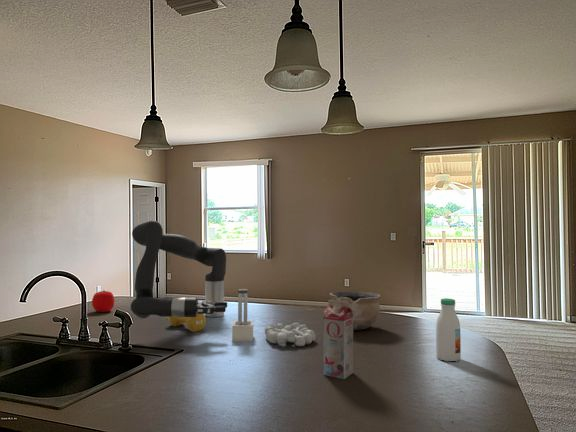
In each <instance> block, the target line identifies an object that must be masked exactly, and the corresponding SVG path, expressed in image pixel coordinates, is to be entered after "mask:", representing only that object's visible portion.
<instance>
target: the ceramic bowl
mask: <svg viewBox="0 0 576 432" xmlns="http://www.w3.org/2000/svg"><path fill="white" fill-rule="evenodd" d="M329 297H330V298H331V299H330V300H335V301H344V302H349V308H350V309H351V310H352V311H353V331H361V330H365V329H366V330H367V329H368V328H370V327H371V326H373V324H374V323H375V322H376V320H377V319H378V317H379V315H380V312H381V307H380V299H381V295H380V294H378V293H375V292H366V291H356V290H355V291H353V290H351V291H344V290H343V291H334V292H330V293H329Z"/></svg>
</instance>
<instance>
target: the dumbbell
mask: <svg viewBox="0 0 576 432" xmlns="http://www.w3.org/2000/svg"><path fill="white" fill-rule="evenodd" d="M166 319H167V321H168V322H169V324H170V325H171V326H172V327H179V326H182V325H184V324H186V325H185V326H186V327H187V328H188V330H189V331H190V332H192V333H196V332H200V331H202V330H203V329H204V327H205V326H206V324H207V317H206V316H205V314H197V316H196V317H173V316H172V317H166Z"/></svg>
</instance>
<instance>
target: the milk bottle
mask: <svg viewBox="0 0 576 432" xmlns="http://www.w3.org/2000/svg"><path fill="white" fill-rule="evenodd" d="M440 306H441V309H440V312H439V315H438V316H437V319H436V325H435V326H436V327H435V328H436V329H435V357H436V358H437V359H438V360H440V361H442V360H444V361H443V362H448V361H456V362H459V361H461V357H462V356H461V355H462V354H461V353H462V351H461V349H462V348H461V347H462V346H461V343H462V342H461V339H462V338H461V323H460V319H459V317H458V315H457V313H456V309H455V307H456V300H455V299H453V298H448V297H447V298H444V297H443V298H441V299H440ZM458 360H459V361H458Z"/></svg>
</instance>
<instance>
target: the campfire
mask: <svg viewBox="0 0 576 432" xmlns="http://www.w3.org/2000/svg"><path fill="white" fill-rule="evenodd" d="M264 334H265V336H266V339H267V342H269V343H272V344H279V345H284V344H286V343H294V346H297V347H305V345H310V344H311V343H312V342H313V341H315V339H316V337H317V336H316V333H315V331H314V330H312V329H309V328H308V327H307V325H306V324H300V323H299V322H294V323H292V324H290V325H285V326H284V324H283V323H277V324H274V323H271V324H269V325H268V326H266V327H265V328H264Z"/></svg>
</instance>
